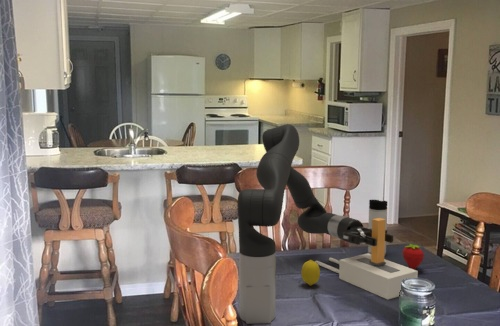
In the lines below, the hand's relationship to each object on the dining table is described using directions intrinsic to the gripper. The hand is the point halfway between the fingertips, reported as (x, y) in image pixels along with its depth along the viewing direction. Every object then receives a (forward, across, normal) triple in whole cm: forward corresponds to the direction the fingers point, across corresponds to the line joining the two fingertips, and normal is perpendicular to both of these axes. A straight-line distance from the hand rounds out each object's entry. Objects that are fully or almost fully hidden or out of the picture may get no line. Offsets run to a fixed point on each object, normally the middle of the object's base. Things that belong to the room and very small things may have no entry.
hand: (384, 241), depth 156 cm
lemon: (-12, -17, +14) cm, 26 cm away
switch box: (-2, 0, +14) cm, 14 cm away
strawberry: (-5, +19, +14) cm, 24 cm away
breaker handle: (-2, 0, +7) cm, 8 cm away
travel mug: (-23, +21, +14) cm, 35 cm away
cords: (-20, 0, +14) cm, 25 cm away
